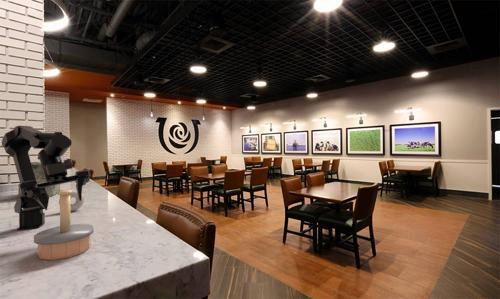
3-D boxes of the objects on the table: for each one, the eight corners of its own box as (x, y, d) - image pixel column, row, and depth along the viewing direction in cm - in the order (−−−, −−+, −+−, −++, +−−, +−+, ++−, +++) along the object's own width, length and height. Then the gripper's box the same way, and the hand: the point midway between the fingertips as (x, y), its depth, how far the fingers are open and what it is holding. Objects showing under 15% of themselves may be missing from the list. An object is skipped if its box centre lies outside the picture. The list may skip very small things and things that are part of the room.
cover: (19, 242, 67) (19, 194, 67) (65, 226, 81) (65, 186, 81) (64, 246, 65) (64, 196, 65) (104, 228, 79) (104, 187, 79)
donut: (59, 213, 114) (59, 192, 114) (58, 212, 117) (58, 191, 117) (85, 210, 121) (85, 189, 121) (83, 208, 124) (83, 188, 124)
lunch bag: (53, 197, 152) (53, 161, 152) (14, 200, 145) (14, 162, 144) (64, 190, 176) (63, 159, 176) (31, 192, 168) (30, 160, 168)
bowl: (33, 252, 72) (33, 236, 72) (81, 240, 82) (80, 226, 81) (46, 264, 65) (45, 246, 65) (96, 249, 74) (96, 234, 74)
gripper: (13, 157, 75) (25, 205, 71) (85, 147, 88) (99, 187, 84) (16, 174, 82) (27, 218, 78) (82, 162, 95) (94, 199, 91)
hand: (64, 204), depth 82 cm, fingers open, 9 cm apart
